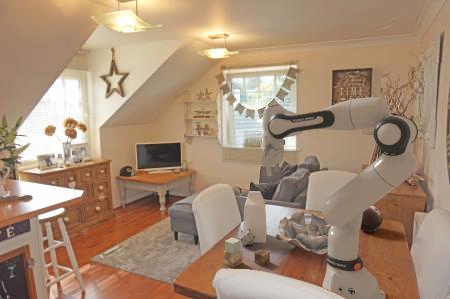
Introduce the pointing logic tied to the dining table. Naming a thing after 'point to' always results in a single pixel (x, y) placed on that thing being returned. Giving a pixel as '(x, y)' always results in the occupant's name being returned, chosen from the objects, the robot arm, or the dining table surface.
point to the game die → (246, 237)
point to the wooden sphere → (371, 219)
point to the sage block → (232, 245)
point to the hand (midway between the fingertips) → (272, 173)
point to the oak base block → (233, 258)
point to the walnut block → (262, 257)
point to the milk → (255, 216)
